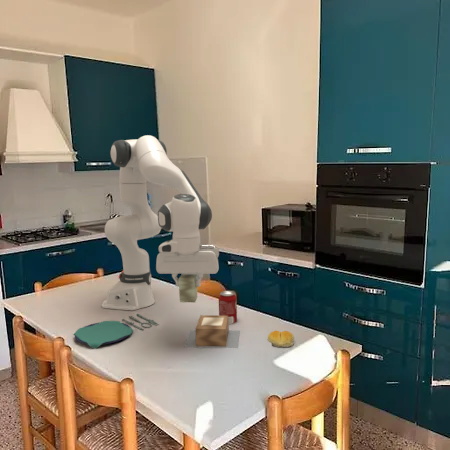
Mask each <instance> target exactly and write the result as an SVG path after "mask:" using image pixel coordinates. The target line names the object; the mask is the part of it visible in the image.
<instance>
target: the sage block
mask: <svg viewBox="0 0 450 450" xmlns="http://www.w3.org/2000/svg"><path fill="white" fill-rule="evenodd" d="M197 275H198V274H181V275H180V276H179V278H178V279H179V287H178V291H179V293H178V294H179V303H196V301H197V299H198V287H195V285H196V284H195V281H196V280H198V277H197Z"/></svg>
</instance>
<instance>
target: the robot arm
mask: <svg viewBox="0 0 450 450" xmlns="http://www.w3.org/2000/svg"><path fill="white" fill-rule="evenodd" d="M167 154H168V151H167V147H166V144H165V143H164V142H163V141H162V140H160V139H157V138H156V136H153V135H150V134H149V135H148V134H147V135H143V136H140V137H139V138H138V139H136V138H135V139H133V138H132V139H126V140H124V139H119V140H115V141H113V143H112V144H111V149H110V158H111V161H112V163H113V165H114V166H115V167H119V174H118V175H119V177H118V179H119V185H118V186H119V200H120V202H121V203H122V204H123V205H124V206H126V207H129V209H130V212H131V214H130V215H120V216H117V217H113V218H111V219H109V220H107V221H106V223H105V225H104V234H105V237H106V239H107V240H108V241H109V242H111V243H112V244H114V245H115V246H116V247H117V248H118V251H119V252H120V254H121V259H122V267H123V269H122V271H121V272H120V273H119V275H118V279H119V281H118V282H117V283H116V284H114V285H112V287H110V289H109V290H108V292H107V298H106V299H105V300H103V302H102V303H101V307H102V309H111V310H120V311H121V310H122V311H123V310H124V311H125V310H126V311H137V310H139V309H143V308H147V307H150V306H151V305H154V304H155V302H156V300H155V296H154V295H153V290H152V289H153V288H152V273H151V269H150V256H149V253H148V252H147V250H145V249H143V248H140V247H139V245H138V241H140V240H144V239H149V238H153V237H155V236H157V235H159V234H160V232H161V231H162V230H164V231H165V232H169V233H170V232H172V239H170V240H166V241H164V242H162V243H160V245H159V246H158V252H159V253H158V254H157V256H156V264H155V270H156V272H157V273H158V274H161V275H162V274H166V275H167V274H169V275H170V274H171V278H172V279H173V280H174V282H175V287H176V288H177V287H178V288H179V278H178V274H181V275H182V274H197V275H198V277H197V278H198V279H197V280H196V281H195V284H196V285H195V287H197V288H199V287H201V286H202V285H201V280H202V279H203V277H204V274H205V275H207V274H208V275H210V274H212V275H213V274H215V275H216V274H217V273H218V271H219V268H220V267H219V259H218V258H219V255H220V250H219V248H218V247H217V246H215V245H214V244H201V233H200V230H204V229H205V230H206V228H207V227H208V226H209V225H210V223H211V221H212V220H213V213H212V209H211V207H210V205H209V204H208V202H206V201H205V199H203V198H202V196H201V194H200V193H199V192H198V190H197V189H196V188H195V186H194V185H193V182H192V181H191V180H190V178H189V177H188V175H187V173H185V172H184V170H183V169H181V168H180V167H178V166H177V165H175V164H174V163H173V162H172V161H171V160H170V159H169V157H168V155H167ZM147 182H149V183H150V184H153V185H157V186H164V187H168V188H171V189H174V190H176V191H178V192H179V193H180V194H179V193H178V194H176V195H173V197H172V199H171V200H170V201H169V202H168V203H165V204H162V205H161V206H160V208H159V209H158V212H157V213H155V211H153V210H152V208H151V206H150V204H149V201H148V191H147V190H148V189H147Z"/></svg>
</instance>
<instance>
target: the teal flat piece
mask: <svg viewBox="0 0 450 450" xmlns="http://www.w3.org/2000/svg"><path fill="white" fill-rule="evenodd" d="M136 316H137V317H139V318H140V319H142V320H144V321H146V322H141V321H140V320H138V319H137V318H135V317H133V316H132V315H130V316H128V318H129V319H132V320H134V321H136V322H137V323H139V324H140V326H141V327H140V326H138V325H136V324H135V323H134V322H132V321H129V320H127V319H125V318H122V320H121V321H124V322H126V323H124V322H121V321H120V320H103V321H101V322H100V321H99V322H95V323H91V324H88V325H84V326H83V327H79V328H77V330H76V331H75V332H74V333H73V336H74V339H75V340H76V341H77V342H79V343H81V344H84V345H89V347H90V348H92V349H98V348H99V347H100V346H101V345H110V344H112V343H113V344H114V343H117V342H119V341H122V340H124V339H126V338H128V337H130V336H131V335H132V333H133V332H134V328H135V329H137V330H140V331H144V329H146V328H147V329H150V328H152V327H153V326H155V327H157V326H160V324H159V323H158V322H156V321H154V320H153V319H151V318H150V319H149V318H147V317H144V316H143V315H141V313H140V314H139V313H137V314H136ZM127 323H128V324H127ZM143 325H149V326H150V327H149V326H143ZM132 327H134V328H132Z"/></svg>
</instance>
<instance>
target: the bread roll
mask: <svg viewBox="0 0 450 450" xmlns="http://www.w3.org/2000/svg"><path fill="white" fill-rule="evenodd" d="M267 340H268V342H269V343H271V345H272V347H275V348H276V347H277V348H279V347H282V348H289V347H293V345H294V343H295V335H294V334H293V333H292V332H291V331H287V330H284V331H280V330H272V331H271V332H270V333H269V334H268V336H267Z"/></svg>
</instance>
